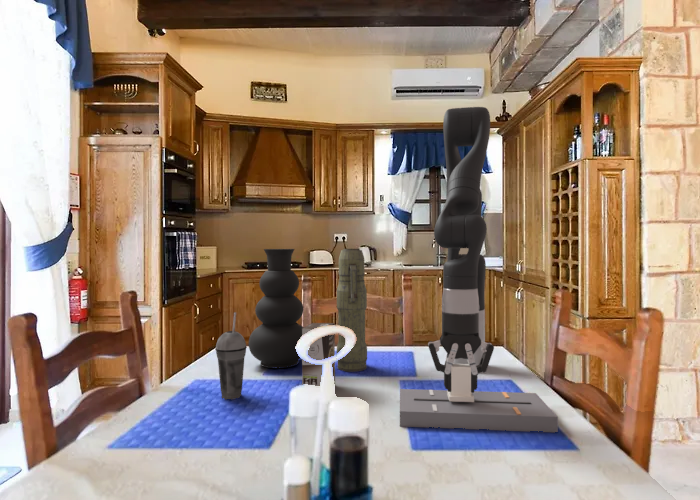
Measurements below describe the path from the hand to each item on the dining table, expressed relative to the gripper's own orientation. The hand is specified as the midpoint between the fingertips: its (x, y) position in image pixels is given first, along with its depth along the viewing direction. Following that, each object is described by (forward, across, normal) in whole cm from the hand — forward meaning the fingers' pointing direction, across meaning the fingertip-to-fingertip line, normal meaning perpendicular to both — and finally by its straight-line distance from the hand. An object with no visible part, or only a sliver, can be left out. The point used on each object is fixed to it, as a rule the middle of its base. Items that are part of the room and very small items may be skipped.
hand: (460, 390), depth 95 cm
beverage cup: (+6, +53, -7) cm, 53 cm away
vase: (+6, +49, -36) cm, 61 cm away
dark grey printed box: (+6, +33, -14) cm, 36 cm away
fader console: (+5, -2, 0) cm, 6 cm away
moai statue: (+5, +27, -35) cm, 44 cm away
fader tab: (+2, 0, 0) cm, 2 cm away
